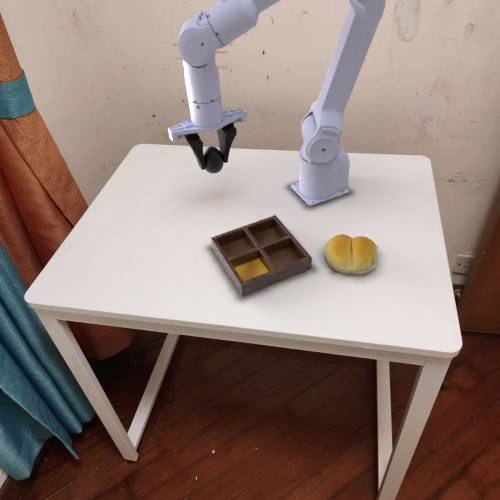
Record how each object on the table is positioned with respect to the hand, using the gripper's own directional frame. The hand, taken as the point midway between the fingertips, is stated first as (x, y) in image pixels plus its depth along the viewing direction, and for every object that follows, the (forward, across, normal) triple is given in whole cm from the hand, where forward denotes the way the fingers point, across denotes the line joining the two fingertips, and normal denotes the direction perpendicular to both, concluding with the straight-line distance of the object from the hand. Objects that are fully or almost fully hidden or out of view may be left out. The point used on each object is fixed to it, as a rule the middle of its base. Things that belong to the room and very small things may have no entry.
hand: (213, 163), depth 87 cm
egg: (+2, 0, 0) cm, 2 cm away
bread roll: (+9, -14, +28) cm, 32 cm away
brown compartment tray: (+8, 0, +20) cm, 22 cm away
